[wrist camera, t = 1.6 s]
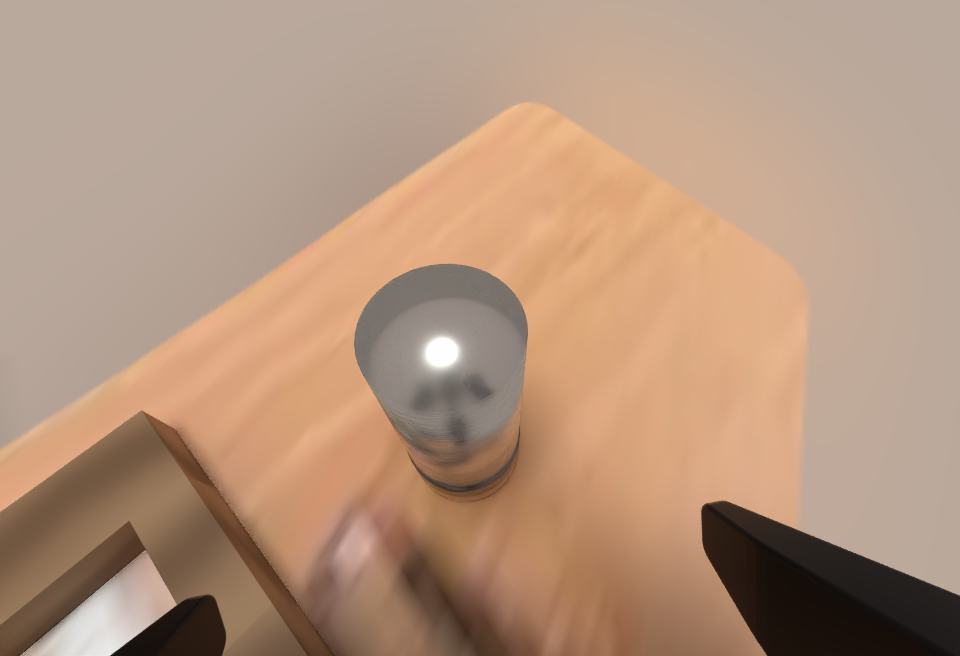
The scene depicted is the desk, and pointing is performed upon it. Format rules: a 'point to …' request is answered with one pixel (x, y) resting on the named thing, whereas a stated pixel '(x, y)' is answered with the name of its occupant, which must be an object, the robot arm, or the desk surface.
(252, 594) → the brown picture frame
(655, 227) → the desk surface
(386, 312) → the chrome banded cylinder
